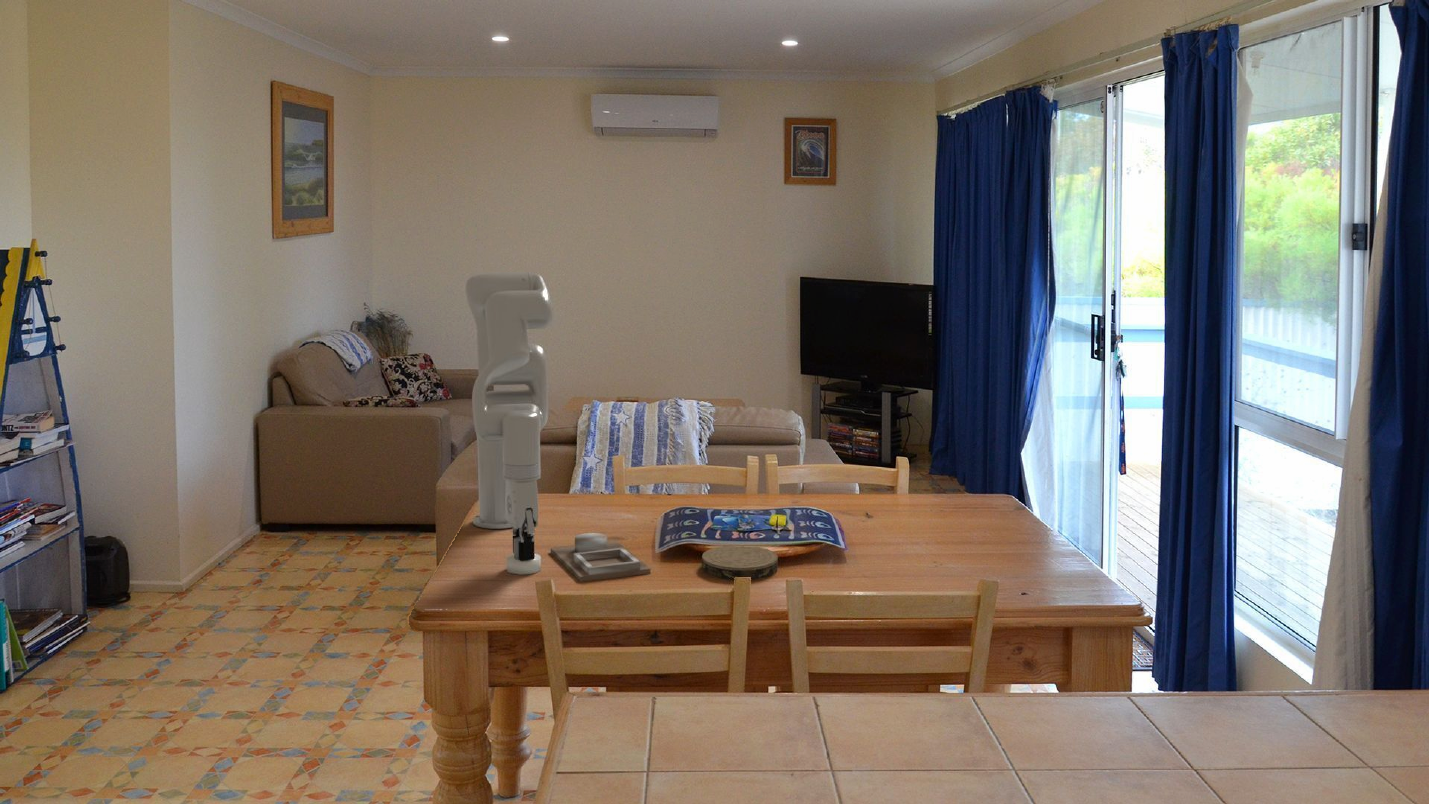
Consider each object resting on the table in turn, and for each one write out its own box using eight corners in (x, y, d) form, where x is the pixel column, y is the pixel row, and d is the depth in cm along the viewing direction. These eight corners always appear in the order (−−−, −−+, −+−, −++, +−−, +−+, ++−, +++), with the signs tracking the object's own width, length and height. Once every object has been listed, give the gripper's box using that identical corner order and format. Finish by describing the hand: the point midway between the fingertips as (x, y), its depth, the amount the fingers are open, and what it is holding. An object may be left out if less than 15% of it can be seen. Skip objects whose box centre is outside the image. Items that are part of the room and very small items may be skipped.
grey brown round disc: (754, 586, 242) (754, 572, 241) (687, 573, 250) (687, 559, 249) (791, 566, 255) (791, 552, 254) (726, 554, 263) (726, 541, 263)
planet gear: (503, 566, 252) (502, 536, 251) (535, 562, 255) (535, 532, 254) (511, 576, 246) (511, 545, 245) (544, 572, 249) (544, 541, 247)
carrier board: (550, 552, 263) (550, 534, 262) (615, 544, 268) (615, 527, 268) (580, 581, 243) (580, 562, 242) (650, 573, 249) (650, 554, 248)
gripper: (494, 463, 253) (496, 547, 256) (514, 481, 238) (516, 570, 241) (529, 460, 256) (530, 543, 259) (551, 478, 241) (552, 566, 244)
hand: (523, 555), depth 250 cm, fingers closed on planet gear, 4 cm apart
